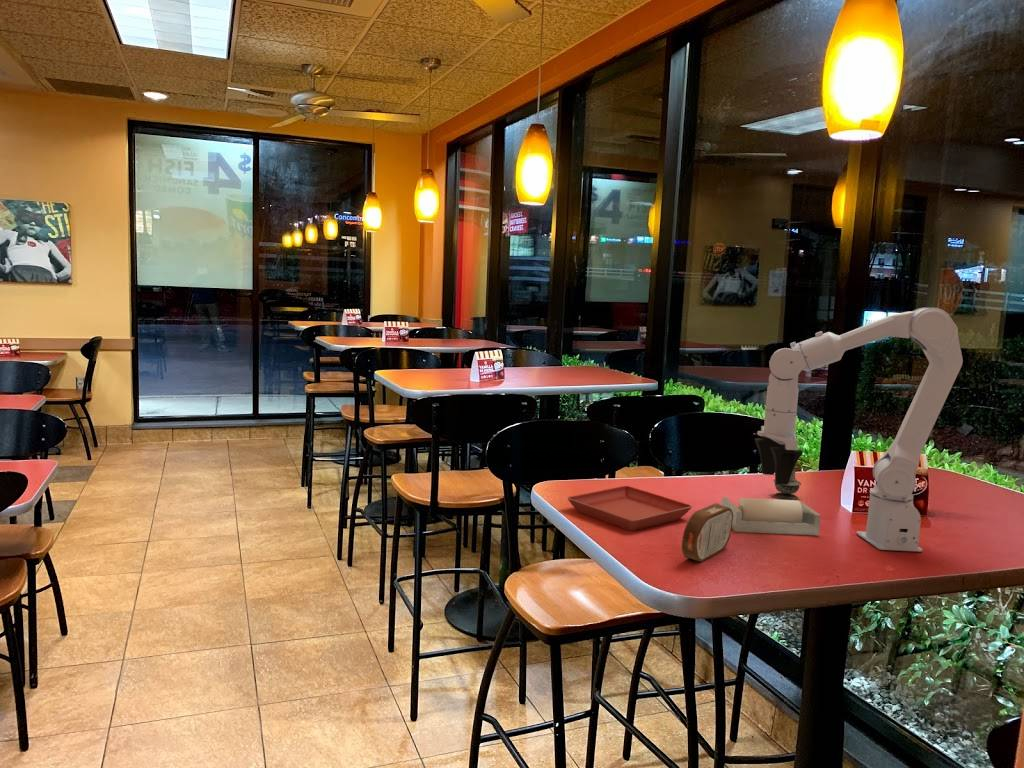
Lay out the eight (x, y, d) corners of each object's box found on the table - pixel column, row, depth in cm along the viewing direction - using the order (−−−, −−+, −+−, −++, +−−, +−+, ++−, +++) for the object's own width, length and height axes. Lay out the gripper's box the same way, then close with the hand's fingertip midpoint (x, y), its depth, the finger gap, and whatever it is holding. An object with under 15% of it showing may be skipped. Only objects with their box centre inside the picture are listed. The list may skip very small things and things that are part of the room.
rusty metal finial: (795, 494, 176) (800, 443, 175) (802, 501, 170) (808, 448, 169) (769, 492, 177) (774, 441, 175) (775, 499, 171) (780, 446, 170)
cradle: (818, 535, 146) (820, 515, 145) (734, 531, 146) (736, 511, 145) (798, 519, 156) (800, 500, 155) (720, 516, 156) (721, 497, 155)
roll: (803, 528, 148) (804, 502, 148) (743, 525, 148) (744, 499, 148) (793, 523, 153) (795, 498, 153) (735, 520, 153) (737, 495, 153)
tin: (717, 543, 138) (721, 498, 137) (733, 547, 136) (737, 501, 135) (678, 563, 127) (682, 514, 126) (695, 568, 125) (700, 518, 124)
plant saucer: (631, 537, 141) (633, 519, 140) (564, 512, 154) (565, 496, 154) (693, 521, 152) (694, 505, 152) (625, 500, 166) (626, 485, 166)
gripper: (748, 403, 155) (742, 469, 157) (773, 415, 141) (767, 487, 143) (783, 405, 155) (777, 470, 157) (811, 417, 141) (804, 489, 143)
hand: (774, 479), depth 150 cm, fingers open, 7 cm apart
